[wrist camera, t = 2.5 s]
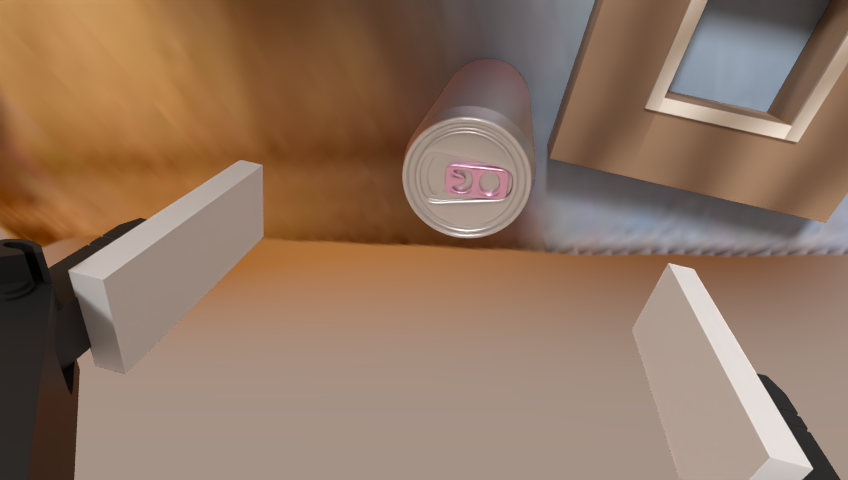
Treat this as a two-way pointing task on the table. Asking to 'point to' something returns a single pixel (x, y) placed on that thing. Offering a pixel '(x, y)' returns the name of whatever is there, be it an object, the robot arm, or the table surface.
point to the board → (706, 113)
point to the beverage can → (473, 153)
